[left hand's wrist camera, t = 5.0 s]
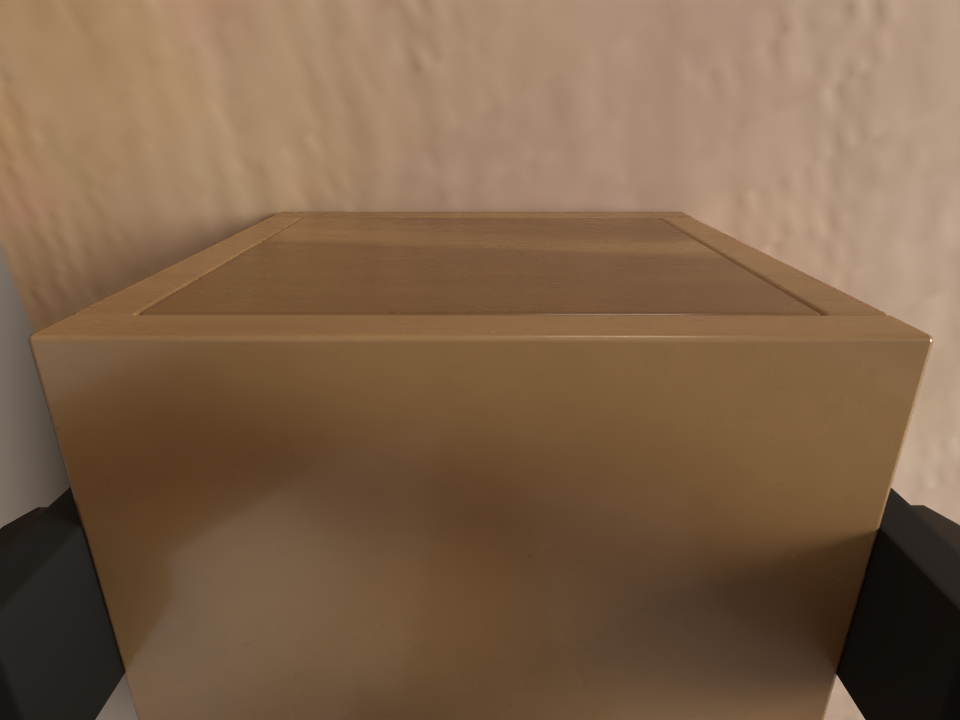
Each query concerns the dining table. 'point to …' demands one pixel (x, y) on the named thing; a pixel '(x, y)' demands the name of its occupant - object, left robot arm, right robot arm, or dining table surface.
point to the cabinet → (480, 469)
